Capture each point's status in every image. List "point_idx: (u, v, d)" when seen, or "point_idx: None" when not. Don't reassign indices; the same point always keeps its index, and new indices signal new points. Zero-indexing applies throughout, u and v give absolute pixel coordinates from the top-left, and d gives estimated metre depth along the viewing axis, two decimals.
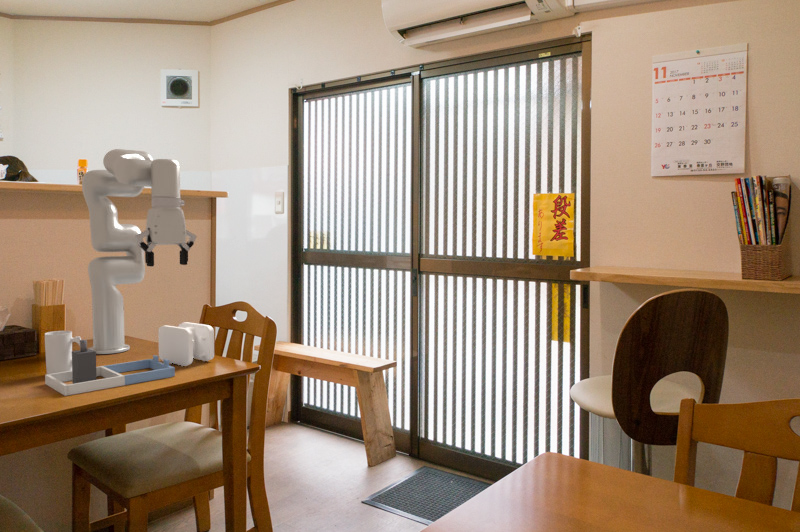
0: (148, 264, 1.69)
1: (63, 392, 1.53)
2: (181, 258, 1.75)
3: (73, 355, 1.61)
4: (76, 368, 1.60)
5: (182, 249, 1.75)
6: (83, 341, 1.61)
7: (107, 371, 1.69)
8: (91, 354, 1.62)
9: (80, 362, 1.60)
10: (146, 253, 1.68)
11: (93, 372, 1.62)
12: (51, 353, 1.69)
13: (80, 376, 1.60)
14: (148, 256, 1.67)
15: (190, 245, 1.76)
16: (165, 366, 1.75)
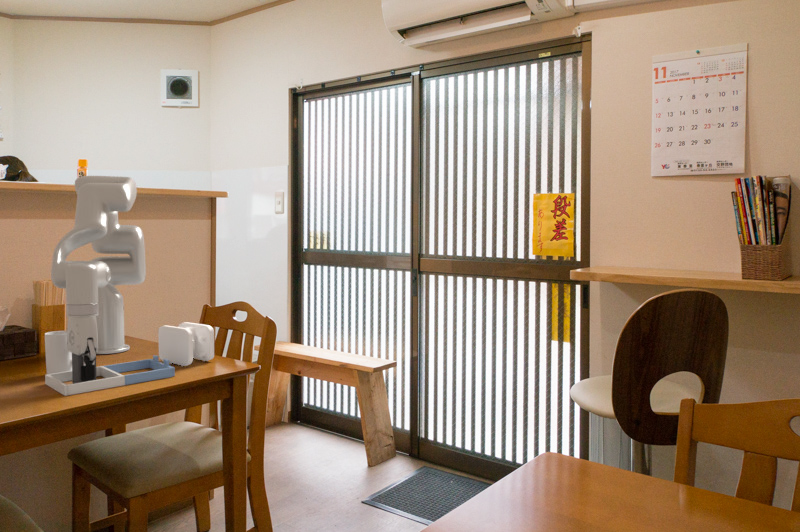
0: (86, 379, 1.60)
1: (63, 392, 1.53)
2: None
3: (73, 355, 1.61)
4: (76, 368, 1.60)
5: None
6: None
7: (107, 371, 1.69)
8: None
9: (80, 362, 1.60)
10: (88, 367, 1.60)
11: None
12: (51, 353, 1.69)
13: (80, 376, 1.60)
14: (91, 370, 1.61)
15: None
16: (165, 366, 1.75)
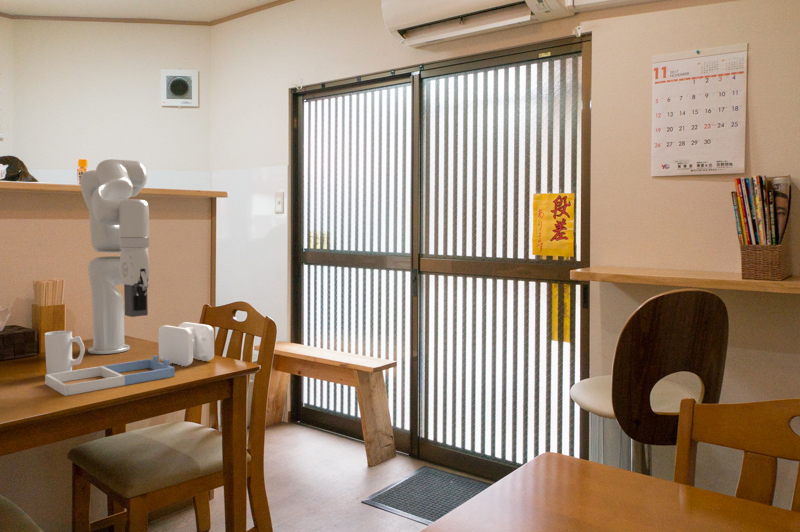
0: (138, 308, 1.69)
1: (63, 392, 1.53)
2: None
3: (126, 286, 1.70)
4: (129, 298, 1.69)
5: None
6: None
7: (107, 371, 1.69)
8: None
9: (133, 293, 1.68)
10: (141, 297, 1.69)
11: None
12: (51, 353, 1.69)
13: (133, 305, 1.69)
14: (143, 300, 1.70)
15: None
16: (165, 366, 1.75)
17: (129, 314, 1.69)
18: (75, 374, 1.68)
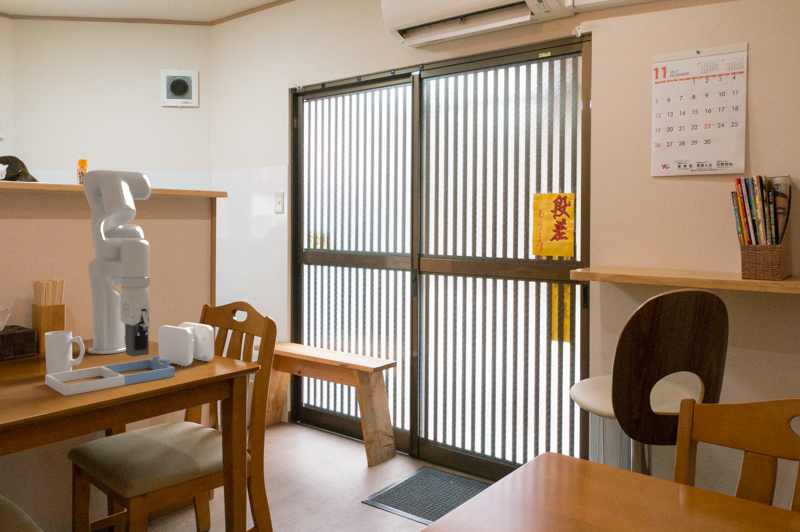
0: (139, 348, 1.70)
1: (63, 392, 1.53)
2: None
3: (127, 326, 1.71)
4: (130, 338, 1.70)
5: None
6: None
7: (107, 371, 1.69)
8: None
9: (134, 332, 1.69)
10: (142, 337, 1.69)
11: None
12: (51, 353, 1.69)
13: (134, 345, 1.69)
14: (144, 339, 1.70)
15: None
16: (165, 366, 1.75)
17: (130, 354, 1.70)
18: (75, 374, 1.68)
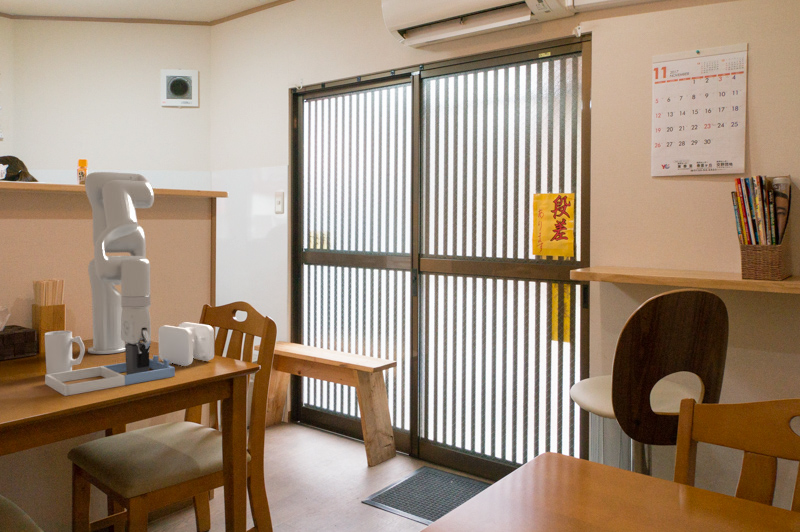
0: (141, 365, 1.69)
1: (63, 392, 1.53)
2: None
3: (127, 348, 1.71)
4: (130, 360, 1.70)
5: None
6: None
7: (107, 371, 1.69)
8: None
9: (134, 355, 1.70)
10: (144, 355, 1.69)
11: None
12: (51, 353, 1.69)
13: (134, 367, 1.70)
14: (146, 357, 1.70)
15: None
16: (165, 366, 1.75)
17: None
18: (75, 374, 1.68)
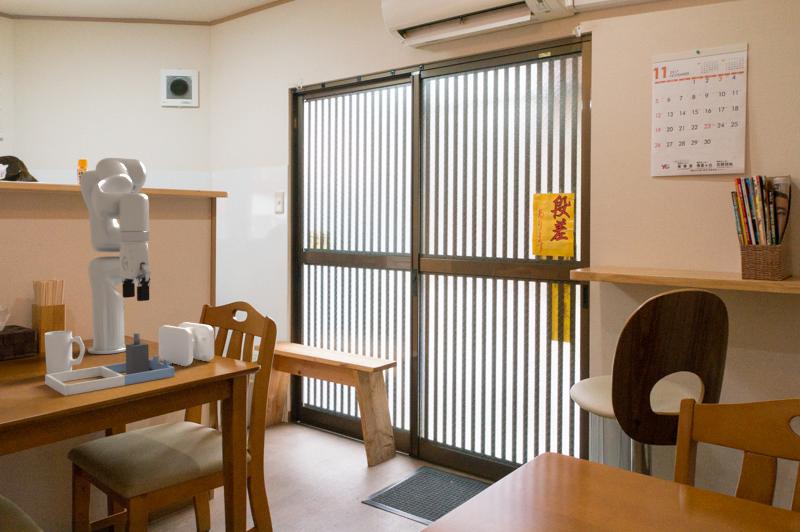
0: (142, 299, 1.68)
1: (63, 392, 1.53)
2: (127, 291, 1.74)
3: (127, 348, 1.71)
4: (130, 360, 1.70)
5: (128, 282, 1.74)
6: (136, 334, 1.71)
7: (107, 371, 1.69)
8: (144, 347, 1.72)
9: (134, 355, 1.70)
10: (144, 288, 1.67)
11: (146, 363, 1.72)
12: (51, 353, 1.69)
13: (134, 367, 1.70)
14: (146, 290, 1.68)
15: None
16: (165, 366, 1.75)
17: None
18: (75, 374, 1.68)
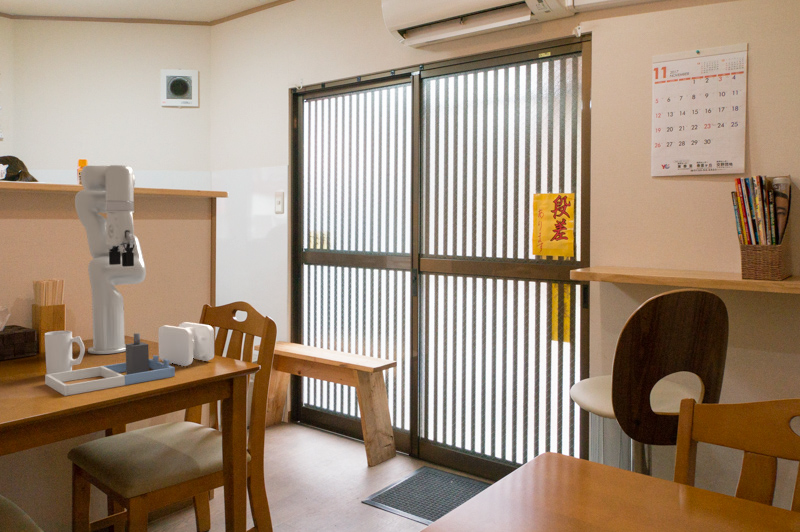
0: (126, 264, 1.79)
1: (63, 392, 1.53)
2: (114, 258, 1.85)
3: (127, 348, 1.71)
4: (130, 360, 1.70)
5: (114, 250, 1.85)
6: (136, 334, 1.71)
7: (107, 371, 1.69)
8: (144, 347, 1.72)
9: (134, 355, 1.70)
10: (129, 254, 1.78)
11: (146, 363, 1.72)
12: (51, 353, 1.69)
13: (134, 367, 1.70)
14: (131, 257, 1.79)
15: None
16: (165, 366, 1.75)
17: None
18: (75, 374, 1.68)
